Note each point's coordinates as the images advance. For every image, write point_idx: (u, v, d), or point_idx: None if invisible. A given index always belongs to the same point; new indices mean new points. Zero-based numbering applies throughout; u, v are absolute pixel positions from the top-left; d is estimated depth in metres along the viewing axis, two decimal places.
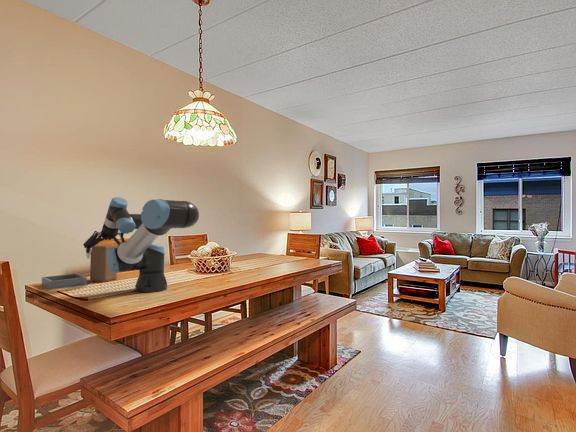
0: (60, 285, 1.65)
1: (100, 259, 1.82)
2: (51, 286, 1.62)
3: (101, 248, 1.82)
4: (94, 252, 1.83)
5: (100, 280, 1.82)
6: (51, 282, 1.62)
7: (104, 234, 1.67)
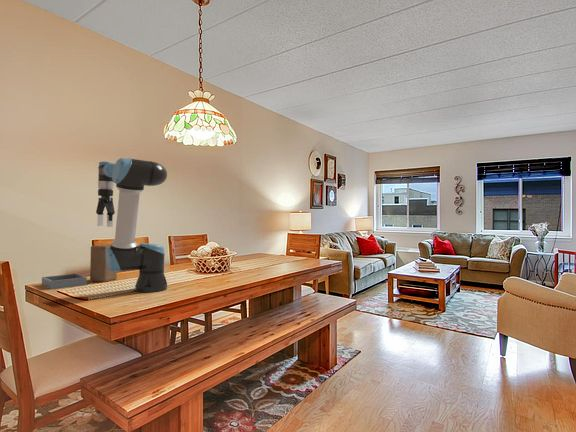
0: (60, 285, 1.65)
1: (100, 259, 1.82)
2: (51, 286, 1.62)
3: (101, 248, 1.82)
4: (94, 252, 1.83)
5: (100, 280, 1.82)
6: (51, 282, 1.62)
7: (101, 198, 1.88)
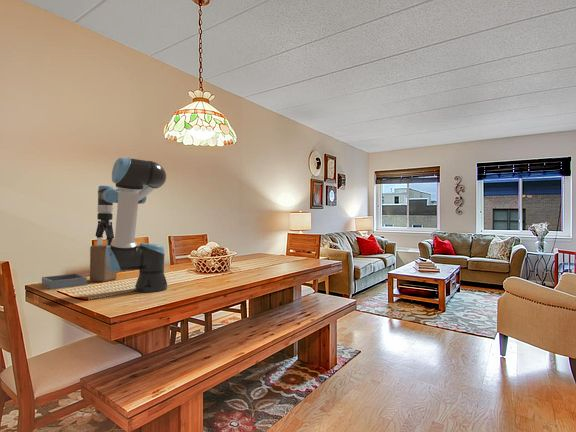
0: (60, 285, 1.65)
1: (100, 258, 1.82)
2: (51, 286, 1.62)
3: (100, 248, 1.82)
4: (94, 252, 1.83)
5: (99, 280, 1.82)
6: (51, 282, 1.62)
7: (101, 222, 1.88)
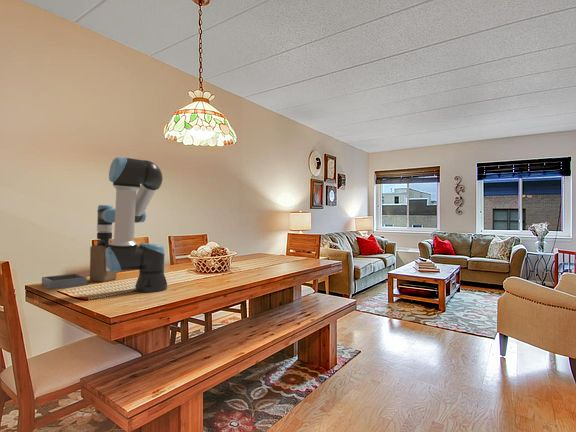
0: (60, 285, 1.65)
1: (100, 259, 1.82)
2: (51, 286, 1.62)
3: (100, 248, 1.82)
4: (94, 252, 1.83)
5: (99, 280, 1.82)
6: (51, 282, 1.62)
7: (100, 241, 1.88)
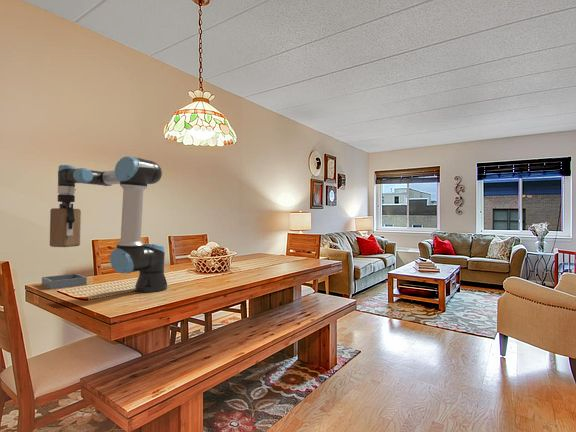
0: (60, 285, 1.65)
1: (60, 222, 1.68)
2: (51, 286, 1.62)
3: (61, 210, 1.68)
4: (54, 215, 1.69)
5: (60, 245, 1.68)
6: (51, 282, 1.62)
7: (62, 204, 1.74)
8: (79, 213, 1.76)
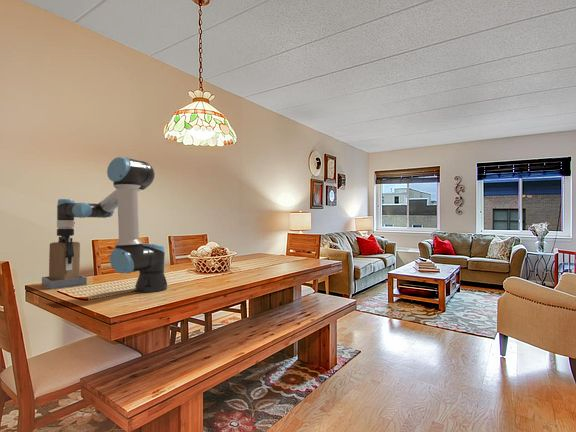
0: (60, 285, 1.65)
1: (59, 256, 1.68)
2: (51, 286, 1.62)
3: (60, 245, 1.68)
4: (53, 250, 1.69)
5: None
6: (51, 282, 1.62)
7: (61, 238, 1.74)
8: (78, 246, 1.76)
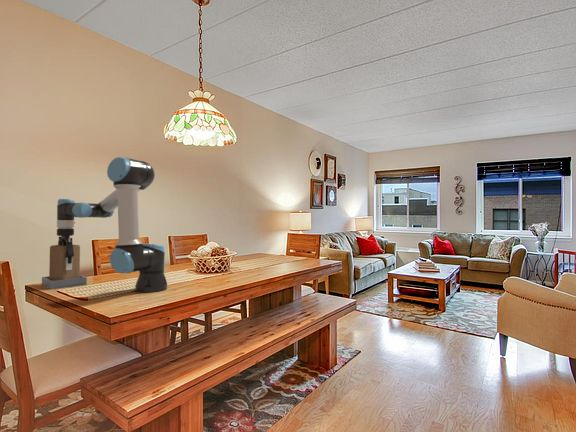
0: (60, 285, 1.65)
1: (58, 259, 1.68)
2: (51, 286, 1.62)
3: (59, 248, 1.68)
4: (53, 253, 1.69)
5: None
6: (51, 282, 1.62)
7: (61, 238, 1.74)
8: (78, 249, 1.75)
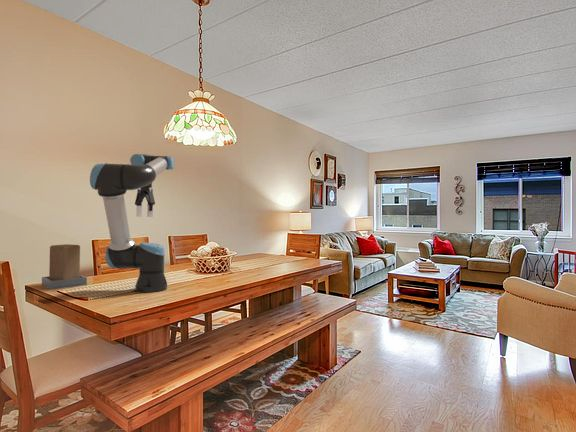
0: (60, 285, 1.65)
1: (58, 259, 1.68)
2: (51, 286, 1.62)
3: (59, 248, 1.68)
4: (53, 253, 1.69)
5: None
6: (51, 282, 1.62)
7: (140, 190, 1.95)
8: (78, 249, 1.75)
